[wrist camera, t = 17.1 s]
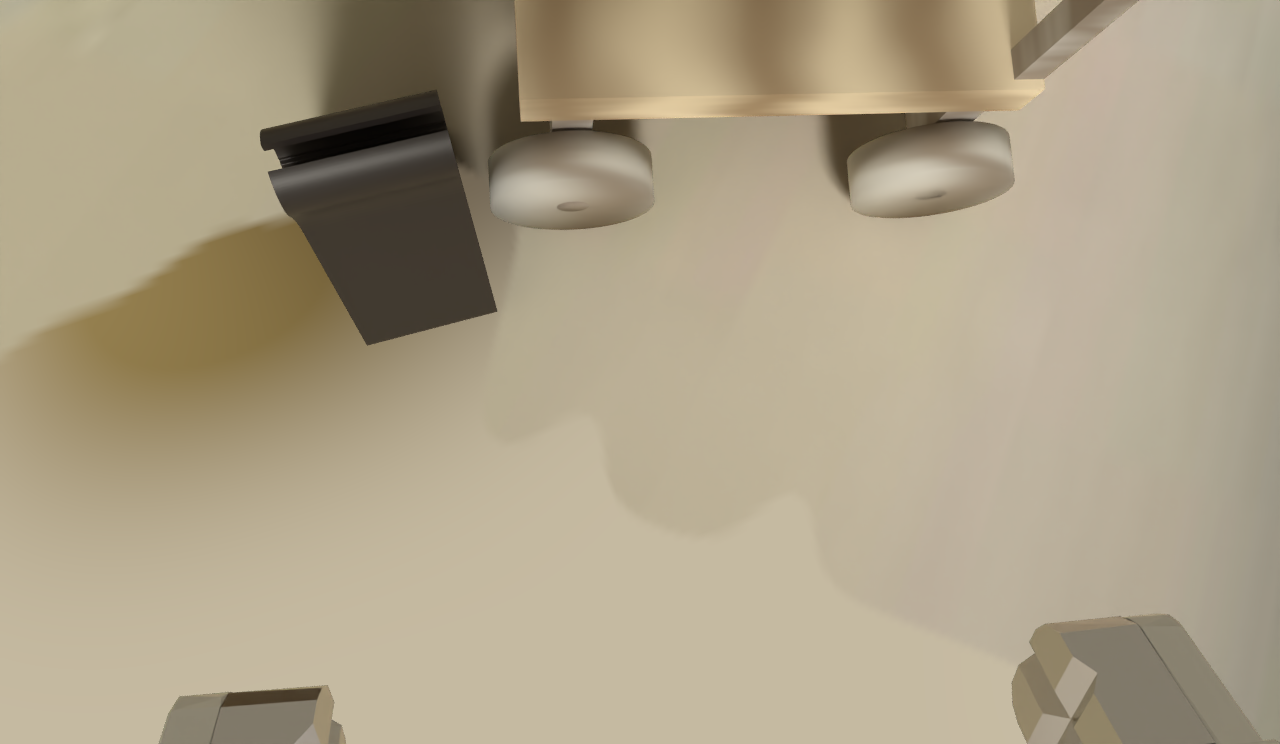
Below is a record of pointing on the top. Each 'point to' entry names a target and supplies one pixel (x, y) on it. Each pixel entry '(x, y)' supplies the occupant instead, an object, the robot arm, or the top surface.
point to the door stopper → (384, 214)
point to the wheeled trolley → (777, 92)
